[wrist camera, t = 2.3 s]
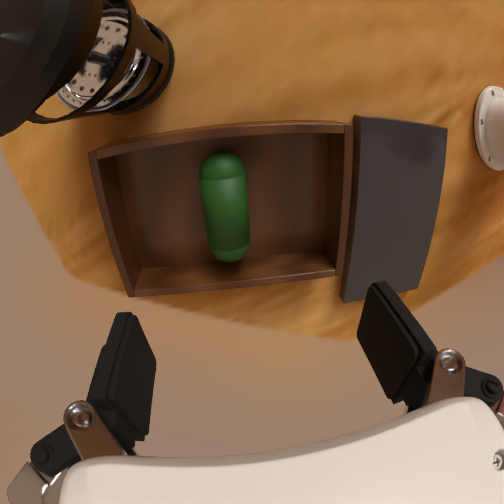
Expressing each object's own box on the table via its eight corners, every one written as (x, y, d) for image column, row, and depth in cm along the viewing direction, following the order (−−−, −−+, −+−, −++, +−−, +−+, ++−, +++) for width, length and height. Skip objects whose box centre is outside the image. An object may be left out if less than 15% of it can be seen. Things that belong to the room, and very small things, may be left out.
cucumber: (242, 145, 24) (246, 152, 20) (250, 246, 29) (254, 267, 25) (198, 150, 23) (193, 157, 20) (211, 250, 28) (210, 272, 25)
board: (439, 126, 24) (447, 128, 23) (412, 282, 35) (417, 288, 34) (353, 114, 23) (360, 115, 22) (339, 296, 34) (343, 303, 33)
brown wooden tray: (333, 120, 23) (353, 124, 19) (328, 253, 31) (342, 275, 27) (107, 144, 22) (87, 152, 18) (138, 272, 30) (128, 297, 26)
